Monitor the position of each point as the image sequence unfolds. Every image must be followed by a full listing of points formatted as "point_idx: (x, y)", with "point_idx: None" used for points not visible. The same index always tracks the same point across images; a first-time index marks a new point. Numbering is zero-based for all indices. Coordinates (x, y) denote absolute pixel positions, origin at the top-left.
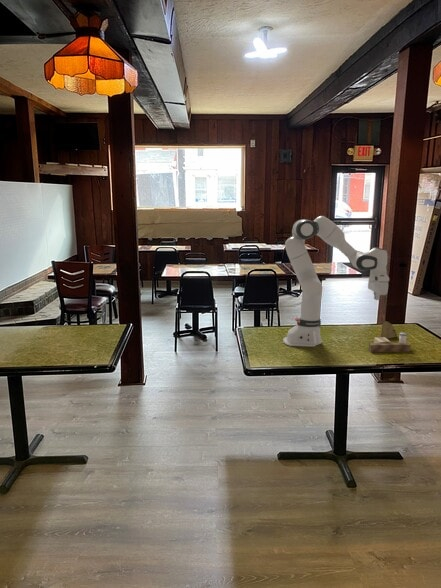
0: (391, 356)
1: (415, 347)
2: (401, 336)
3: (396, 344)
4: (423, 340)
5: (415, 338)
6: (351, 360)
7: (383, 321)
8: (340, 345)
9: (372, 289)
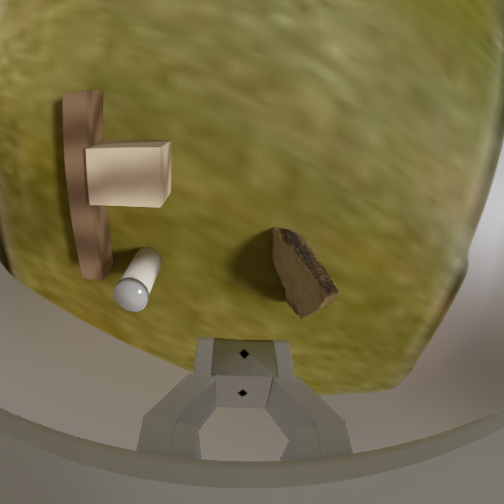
0: (37, 165)
1: None
2: (122, 278)
3: (74, 220)
4: None
5: None
6: (19, 7)
7: (325, 293)
8: None
9: (366, 482)
